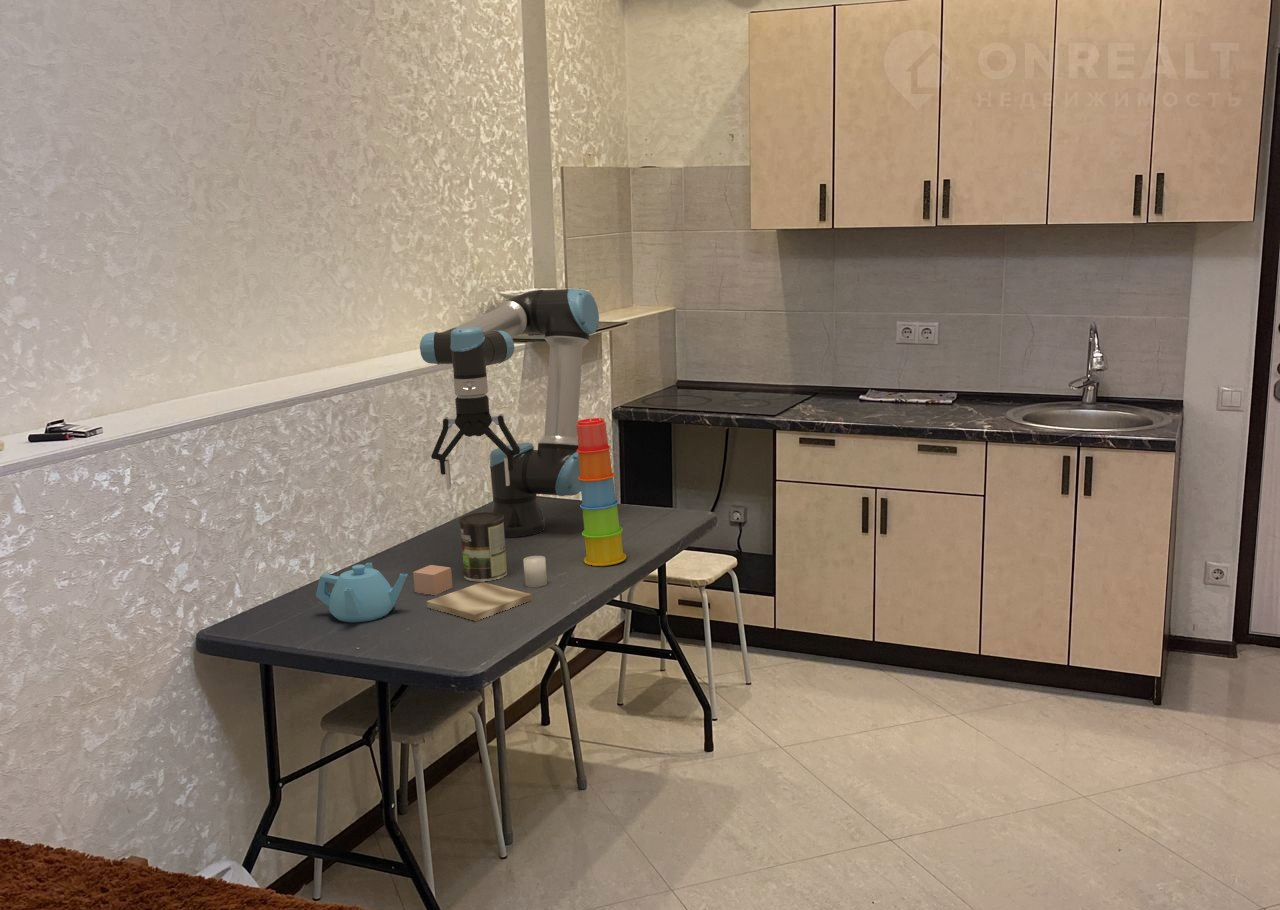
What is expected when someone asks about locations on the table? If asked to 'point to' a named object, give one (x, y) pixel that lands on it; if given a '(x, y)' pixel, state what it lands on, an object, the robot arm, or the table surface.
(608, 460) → the stacking cups
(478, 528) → the coffee can
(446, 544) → the table surface
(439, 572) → the terracotta block
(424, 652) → the table surface
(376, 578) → the teapot
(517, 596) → the birch board
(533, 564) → the off-white cylinder
